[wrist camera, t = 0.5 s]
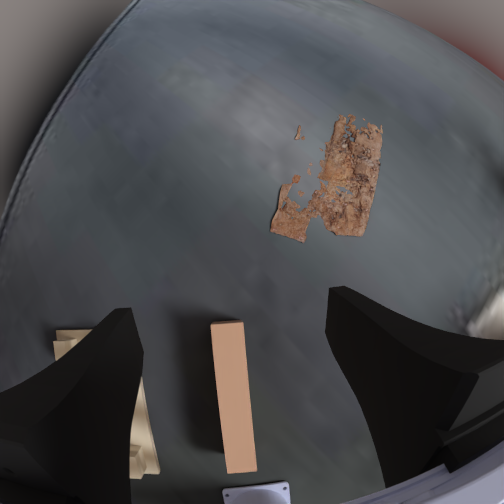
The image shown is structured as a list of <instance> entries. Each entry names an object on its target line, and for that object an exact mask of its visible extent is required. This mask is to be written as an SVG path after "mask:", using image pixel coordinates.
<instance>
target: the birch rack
mask: <svg viewBox="0 0 504 504" xmlns="http://www.w3.org/2000/svg"><path fill="white" fill-rule="evenodd" d="M91 330H93V329H89V330H56V335H57V341H53V343H54V351H55V358H56V361H57V360H58V359H59V358H61V357H62V356H63V355H64V354H66V353H67V352H68V351H69V350H70V349H71V348H73V347H74V346H75V345H76V344H77V343H78V342H79V341H81V340H82V339H83V338H84V337H85V336H86V335H87V334H88V333H89V332H90V331H91ZM160 471H161V470H160V466H159V462H158V458H157V454H156V449H155V445H154V441H153V436H152V431H151V426H150V421H149V416H148V411H147V406H146V400H145V394H144V388H143V382H142V377H141V382H140V386H139V391H138V396H137V401H136V406H135V411H134V416H133V421H132V428H131V438H130V478H134V479H141V478H142V476H143V474H159V473H160Z"/></svg>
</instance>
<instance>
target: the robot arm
mask: <svg viewBox="0 0 504 504" xmlns="http://www.w3.org/2000/svg"><path fill="white" fill-rule="evenodd" d="M325 334H326V337H327V339H328V342H329V345H330V348H331V350H332V353H333V355H334V357H335V359H336V361H337V362H338V364H339V366H340V368H341V370H342V372H343V374H344V375H345V377H346V379H347V381H348V383H349V384H350V386H351V388H352V390H353V392H354V394H355V395H356V397H357V400H358V402H359V404H360V406H361V408H362V411H363V414H364V416H365V419H366V422H367V424H368V427H369V430H370V433H371V436H372V439H373V442H374V445H375V448H376V452H377V455H378V459H379V462H380V466H381V469H382V474H383V478H384V482H385V487H386V489H384V490H381V491H379V492H376V493H373V494H370V495H367V496H364V497H361V498H358V499H355V500H351V501H348V502H345V503H341V504H504V340H492V339H482V338H475V337H469V336H464V335H459V334H455V333H451V332H447V331H443V330H440V329H437V328H433V327H430V326H428V325H425V324H422V323H419V322H417V321H414V320H412V319H409V318H407V317H405V316H403V315H401V314H399V313H396V312H394V311H392V310H390V309H388V308H386V307H384V306H382V305H381V304H379V303H377V302H375V301H373V300H371V299H369V298H368V297H366V296H364V295H362V294H360V293H358V292H356V291H354V290H353V289H350V288H348V287H346V286H339V287H332V288H329V296H328V307H327V318H326V328H325ZM143 354H144V351H143V348H142V344H141V341H140V338H139V334H138V331H137V327H136V324H135V320H134V317H133V313H132V309H131V308H117V309H115V310H113V311H112V312H111V313H110V314H109V315H107V316H106V317H105V318H104V319H103V320H102V321H101V322H100V323H99V324H98V325H97V326H96V327H95V328H94V329H93V330H91V331H90V332H89V333H88V334H87V335H86V336H85V337H84V338H83V339H82V340H81V341H79V342H78V343H77V344H76V345H75V346H74V347H73V348H71V349H70V350H69V351H68V352H67V353H66V354H64V355H63V356H62V357H61V358H59V359H58V360H57V361H55V362H54V363H52V364H51V365H50V366H48V367H47V368H45V369H44V370H42V371H41V372H39V373H37V374H36V375H34V376H32V377H31V378H29V379H27V380H26V381H24V382H22V383H20V384H18V385H16V386H14V387H12V388H10V389H8V390H5V391H3V392H1V393H0V504H131V491H130V438H131V428H132V421H133V416H134V411H135V406H136V401H137V396H138V391H139V386H140V382H141V377H142V368H143ZM284 487H286V488H285V489H283V488H284ZM222 493H223V498H224V503H225V504H290V493H289V484H288V482H286V481H283V482H277V483H270V484H263V485H255V486H246V487H236V488H225V489H223V491H222ZM226 494H229V495H228V496H227V495H226Z"/></svg>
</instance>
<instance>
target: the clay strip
mask: <svg viewBox="0 0 504 504" xmlns="http://www.w3.org/2000/svg"><path fill="white" fill-rule="evenodd" d="M211 334H212V345H213V356H214V366H215V376H216V385H217V394H218V403H219V412H220V420H221V428H222V436H223V444H224V451H225V458H226V466H227V473H242V472H253V471H257V466H256V456H255V446H254V436H253V426H252V415H251V405H250V394H249V383H248V372H247V361H246V350H245V339H244V327H243V322H242V321H241V320H233V321H219V322H212V324H211Z"/></svg>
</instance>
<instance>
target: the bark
mask: <svg viewBox="0 0 504 504" xmlns="http://www.w3.org/2000/svg"><path fill="white" fill-rule="evenodd" d="M339 116H340V117H341V118H339V120H338V121H336V122H335V124H334V132H333V135H332V136H331V140H330V142H325V144H326V150H325V161H324V160H320V165H321V167H322V171H321V172H320V173H319V175H318V178H319V179H322V180H327V181H329V182H328V185H327V188H326V187H325V185H324V184H323V183H322V182H321V181H320V183H321V190H320V191H319V190H315V191H314V193H313V195H312V197H313V198H312V200H310V201H309V202H308V203H309V205H308V208H304V209H303V210H302V211H300V212H298V211H296V208H300V206H299V205H298V204H296V202H295V201H293V202H291V200H290V199H289V197H287V194H288V192H289V190H290V188H291V186H292V184H293V183H298V182H299V180H300V176H299V175H294V177H293V178H292V180H293V182H292V183H291V184H282V187H281V191H280V198H279V206H278V210H277V212H276V214H275V216H274V218H273V220H272V225H271V231H270V232H275V233H276V234H281V235H283V236H285V235H286V236H287V237H289V238H293V239H294V238H295V240H298V241H300V242H303V243H304V241H306V240H305V239H306V233H305V232H306V229H307V226H308V224H309V222H308V221H310V218H311V217H314V218H316V217H317V215H320V216H321V217H322V219H323V220H324V225H325V226H326V229H327V230H330V231H332V230H333V231H334V232H335V234H336V235H345V236H346V235H349V236H351V235H352V236H354V235H355V236H359V237H360V236H362V235H363V233H364V231H365V229H366V225H367V222H368V219H369V217H368V216H369V213H370V208H371V205H372V201H373V198H374V194H375V193H374V192H375V187H376V184H377V182H376V181H377V178H378V173H379V166H380V162H379V158H381V154H380V149H381V146H382V138H381V134H380V132H381V133H383V131H382V125H381V126H380V128H381V131H380V130H379V129H378V128H377V127H376V126H375V125H371V124H370V123H369V122H368V129H369V130H367V129H366V128H365V127H362V128H361V131H362V133H361V134H359V132H360V130H358V129H357V130H355V128H356V126H355V125H352V124H351V123H352V122H353V121H354V120H355V116H353V115H351V114H349V115H348V117H350V120H349V122H348V124H346V117H343V115H339ZM342 118H343V119H342ZM363 120H364V121H365V119H363ZM344 125H346V126H349V127H350V128H349V129H347V128H346V130H347V131H351V132H350V133H352V135H351V137H353V138H355V142H352V141H350V139H349V138H350V135H349V134H347V135H348V138H345V137H342V136H343V135H344V134H346V132H345V131H344V128H345V127H344ZM300 130H301V126H300V125H299V128H298V134H297V136H296V138H295V140H297V139H300V138H299V136H300V133H299V132H300ZM375 130H377V131H378V133H376V132H375ZM363 131H364V132H363ZM368 132H370V134H369V133H368ZM364 133H365V134H364ZM367 135H368V136H369V139H368V138H367ZM355 136H356V137H355ZM301 139H302V140H304V139H305V137H304V136H303V137H302V138H301ZM320 150H321V151H323V150H322V149H320ZM352 155H353V157H354V158H352V157H351V156H352ZM349 156H350V157H349ZM309 166H312V163H310V165H309ZM307 172H308V174H309V175H311V172H310V169H309V168H308V170H307ZM339 183H340V184H339ZM336 186H341V187H345V189H348V190H350V192H352V193H353V195H354V196H353V195H350V194H348V195H347V194H346V193H347V192H345V193H344V192H343V191H342V192H340V189H338V188H337V187H336ZM335 190H336V191H338V192H339V193H340V194H339V195H337V194H336V191H335ZM323 192H324V193H325V195H324V197H319V196H321V195H322V193H323ZM298 193H299V195H300V196H301V197H302V195H303V194H304V192H301V191H298ZM316 193H317V194H316ZM337 196H338V197H337ZM351 196H352V198H351ZM336 198H337V199H336ZM332 199H334V200H335V201H336V202H335V203H332V202H331V200H332ZM283 201H285V202H286V204H285V205H284V207H283V208H281V206H282V204H283ZM314 209H315V210H316V211H315V212H313V210H314ZM309 210H311V212H310V211H309ZM286 213H287V214H289V215H287V214H286ZM308 214H310V215H308ZM291 217H293V219H292V220H291ZM332 217H333V218H334V219H332ZM333 231H332V232H333Z"/></svg>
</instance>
